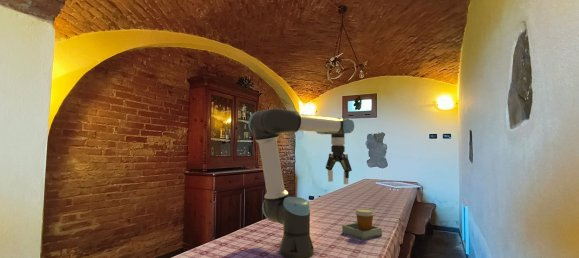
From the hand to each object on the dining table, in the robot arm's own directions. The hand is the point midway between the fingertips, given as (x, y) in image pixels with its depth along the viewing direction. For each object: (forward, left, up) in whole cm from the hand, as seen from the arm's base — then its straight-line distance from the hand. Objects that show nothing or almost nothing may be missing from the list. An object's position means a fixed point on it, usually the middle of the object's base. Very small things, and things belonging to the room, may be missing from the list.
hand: (337, 182), depth 166 cm
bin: (+6, -12, -26) cm, 30 cm away
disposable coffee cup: (+6, -14, -26) cm, 30 cm away
